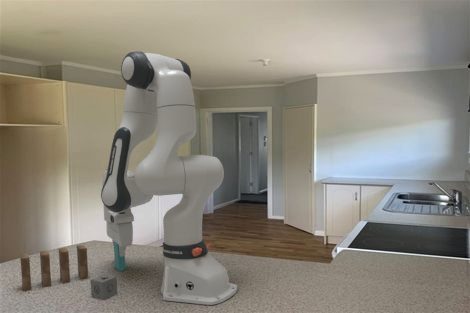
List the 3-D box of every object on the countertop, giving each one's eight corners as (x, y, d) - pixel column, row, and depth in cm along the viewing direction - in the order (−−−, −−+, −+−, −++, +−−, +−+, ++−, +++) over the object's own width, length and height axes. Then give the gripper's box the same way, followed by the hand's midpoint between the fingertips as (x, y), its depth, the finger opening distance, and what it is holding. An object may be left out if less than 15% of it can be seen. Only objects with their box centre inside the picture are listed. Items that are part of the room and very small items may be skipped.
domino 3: (67, 277, 133) (65, 247, 133) (70, 282, 129) (68, 250, 129) (60, 279, 132) (58, 248, 132) (62, 283, 128) (60, 252, 127)
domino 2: (49, 281, 131) (47, 250, 130) (51, 285, 126) (49, 254, 126) (41, 282, 130) (39, 251, 129) (43, 287, 125) (41, 255, 125)
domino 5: (121, 266, 143) (119, 237, 143) (125, 269, 139) (123, 240, 138) (115, 267, 142) (113, 238, 142) (119, 271, 138) (117, 241, 137)
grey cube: (103, 300, 114) (102, 282, 114) (91, 296, 117) (90, 279, 116) (117, 293, 118) (116, 276, 118) (105, 290, 121) (104, 274, 120)
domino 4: (85, 274, 136) (83, 244, 136) (88, 278, 132) (86, 247, 131) (78, 275, 135) (76, 245, 135) (81, 279, 131) (79, 249, 130)
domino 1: (30, 285, 128) (28, 253, 127) (31, 289, 124) (29, 257, 123) (22, 286, 127) (20, 254, 126) (23, 291, 122) (21, 258, 122)
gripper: (101, 210, 147) (103, 248, 148) (115, 219, 129) (118, 262, 130) (118, 208, 150) (120, 245, 151) (135, 217, 133) (137, 259, 133)
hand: (119, 253), depth 140 cm, fingers closed on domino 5, 5 cm apart
